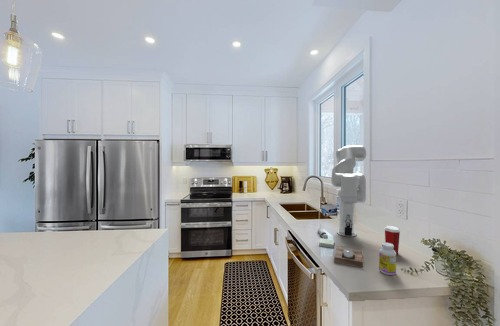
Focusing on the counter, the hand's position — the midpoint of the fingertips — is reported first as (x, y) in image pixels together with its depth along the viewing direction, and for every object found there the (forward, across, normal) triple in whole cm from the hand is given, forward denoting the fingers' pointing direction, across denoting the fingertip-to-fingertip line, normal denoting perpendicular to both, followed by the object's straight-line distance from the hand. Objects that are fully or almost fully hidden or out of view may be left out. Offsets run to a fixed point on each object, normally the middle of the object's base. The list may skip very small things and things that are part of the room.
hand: (348, 232), depth 113 cm
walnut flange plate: (+15, -3, 0) cm, 15 cm away
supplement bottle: (+15, +5, +17) cm, 23 cm away
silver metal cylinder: (+14, +1, 0) cm, 14 cm away
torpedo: (+16, -34, -17) cm, 41 cm away
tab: (+15, -18, -12) cm, 26 cm away
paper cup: (+15, -21, +22) cm, 33 cm away
